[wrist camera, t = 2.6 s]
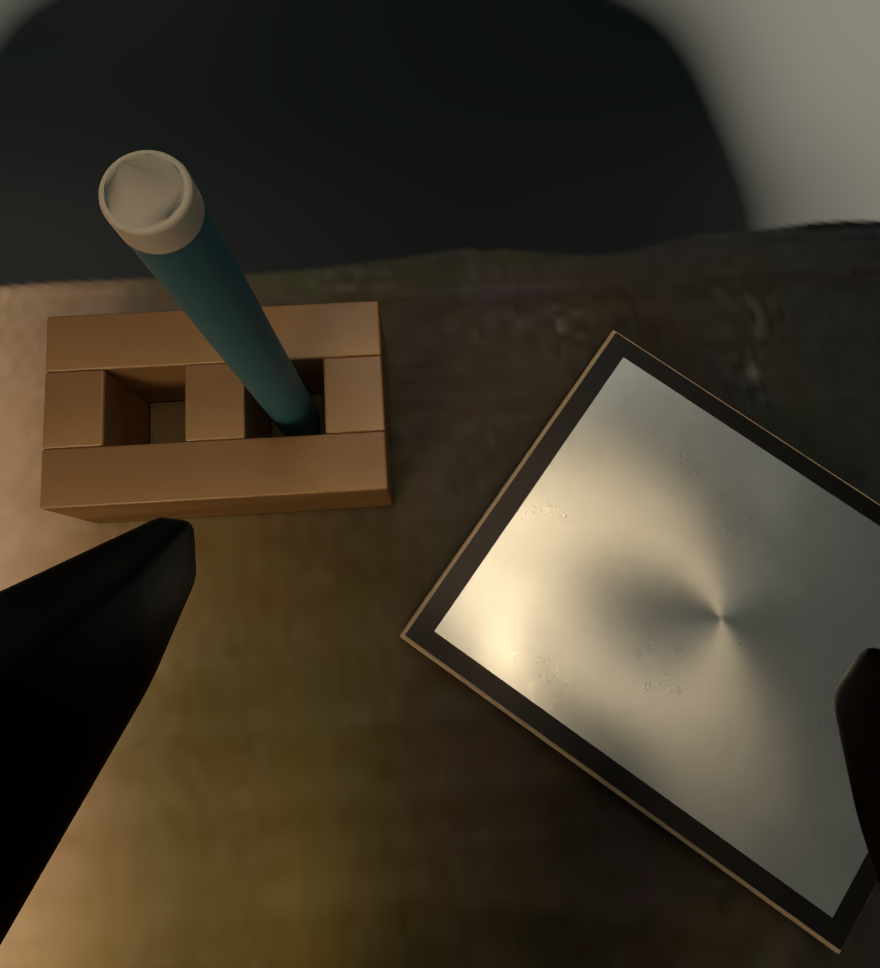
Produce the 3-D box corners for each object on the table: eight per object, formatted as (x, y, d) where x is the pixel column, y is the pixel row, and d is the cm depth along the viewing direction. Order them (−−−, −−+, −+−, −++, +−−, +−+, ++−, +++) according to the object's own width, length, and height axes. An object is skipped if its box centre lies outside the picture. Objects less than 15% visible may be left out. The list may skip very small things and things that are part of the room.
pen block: (393, 506, 24) (388, 489, 20) (95, 523, 23) (39, 509, 20) (385, 342, 25) (378, 299, 21) (99, 357, 24) (46, 316, 21)
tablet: (824, 942, 22) (844, 959, 21) (399, 635, 23) (398, 636, 22) (1008, 601, 24) (1034, 600, 23) (607, 337, 25) (615, 325, 24)
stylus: (308, 455, 24) (151, 250, 10) (275, 431, 24) (76, 199, 10) (332, 422, 24) (211, 180, 10) (300, 399, 24) (137, 130, 11)
